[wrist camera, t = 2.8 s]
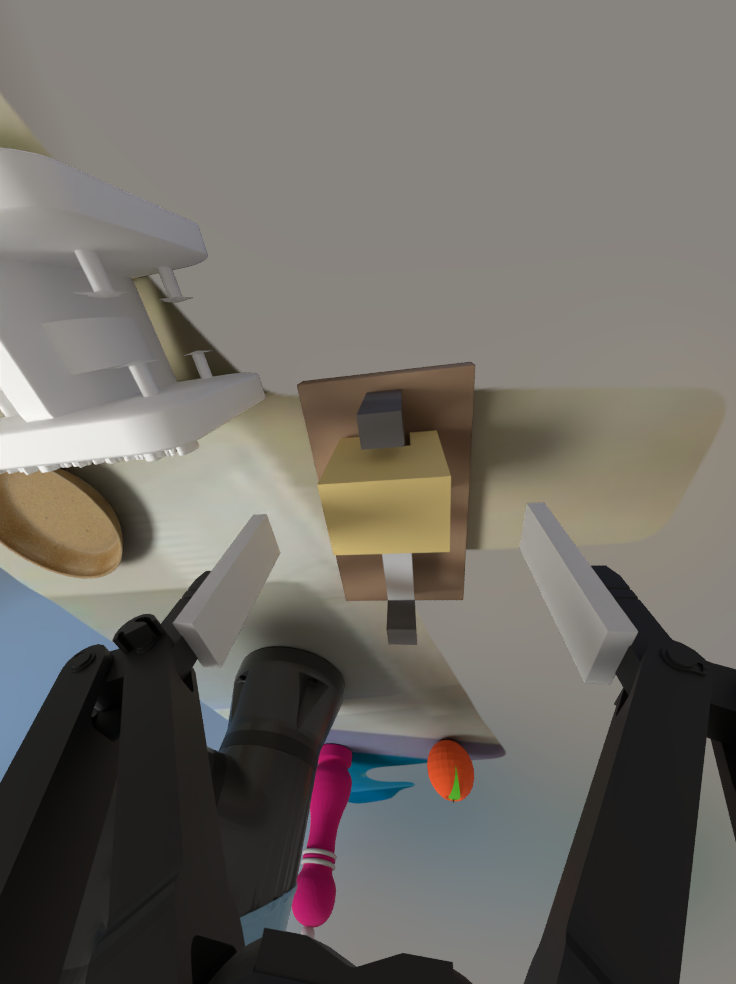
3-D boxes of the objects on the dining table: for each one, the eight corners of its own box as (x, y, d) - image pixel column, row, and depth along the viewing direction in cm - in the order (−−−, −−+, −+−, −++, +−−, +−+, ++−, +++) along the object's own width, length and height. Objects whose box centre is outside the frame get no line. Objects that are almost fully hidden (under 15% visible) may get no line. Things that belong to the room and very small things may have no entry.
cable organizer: (228, 223, 18) (14, 110, 8) (278, 400, 23) (186, 464, 13) (26, 271, 20) (-333, 227, 10) (113, 422, 26) (-72, 490, 16)
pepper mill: (338, 762, 58) (312, 952, 40) (308, 748, 56) (266, 941, 38) (363, 753, 54) (345, 955, 37) (331, 738, 52) (297, 943, 35)
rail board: (460, 588, 31) (474, 652, 25) (348, 589, 33) (336, 650, 27) (470, 361, 21) (499, 380, 15) (302, 381, 22) (266, 405, 16)
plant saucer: (163, 515, 31) (144, 531, 28) (112, 580, 37) (93, 598, 34) (9, 410, 26) (-28, 418, 24) (-20, 504, 32) (-51, 518, 30)
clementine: (428, 726, 47) (432, 787, 41) (473, 730, 46) (484, 793, 40) (423, 748, 51) (427, 806, 45) (465, 752, 50) (474, 812, 44)
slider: (437, 491, 24) (449, 552, 18) (350, 496, 25) (333, 555, 19) (436, 430, 21) (451, 476, 15) (340, 438, 22) (317, 484, 16)
